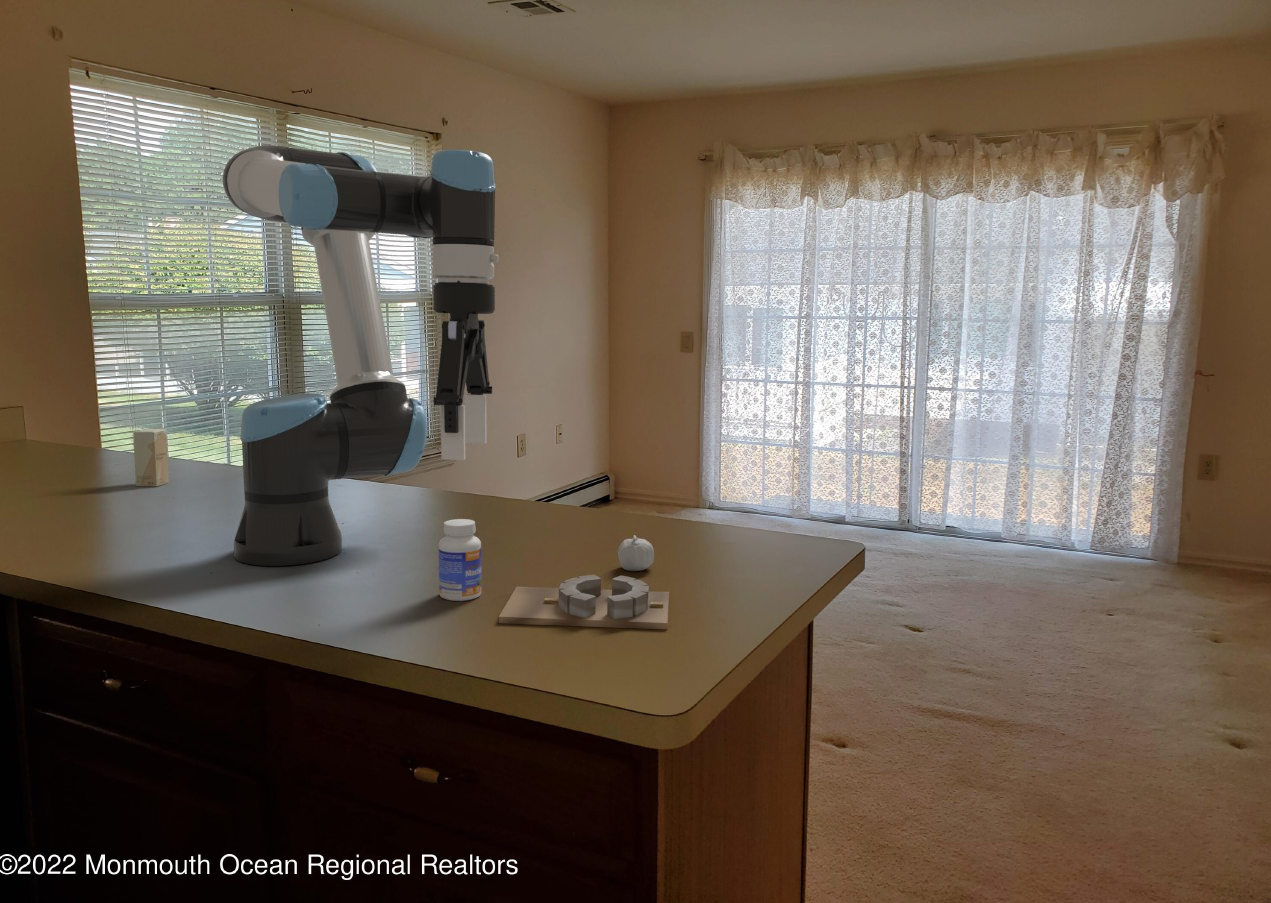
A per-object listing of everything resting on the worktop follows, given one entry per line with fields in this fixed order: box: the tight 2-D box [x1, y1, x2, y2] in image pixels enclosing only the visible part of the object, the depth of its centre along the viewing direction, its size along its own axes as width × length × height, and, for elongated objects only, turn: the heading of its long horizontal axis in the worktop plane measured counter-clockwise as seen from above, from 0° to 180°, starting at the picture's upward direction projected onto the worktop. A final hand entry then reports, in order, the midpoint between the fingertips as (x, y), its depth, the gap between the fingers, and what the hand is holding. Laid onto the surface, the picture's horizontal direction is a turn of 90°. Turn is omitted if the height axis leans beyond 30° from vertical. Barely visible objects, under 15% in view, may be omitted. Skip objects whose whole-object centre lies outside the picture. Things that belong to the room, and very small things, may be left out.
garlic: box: [617, 534, 655, 572], centre depth 133 cm, size 6×5×5 cm
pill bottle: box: [438, 518, 482, 602], centre depth 119 cm, size 5×5×10 cm
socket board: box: [498, 574, 670, 630], centre depth 115 cm, size 20×12×3 cm, turn 87°
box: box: [132, 428, 170, 487], centre depth 185 cm, size 5×4×11 cm
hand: (465, 451), depth 117 cm, fingers open, 13 cm apart
